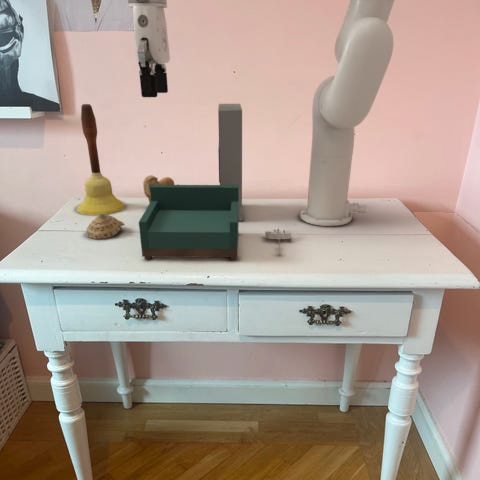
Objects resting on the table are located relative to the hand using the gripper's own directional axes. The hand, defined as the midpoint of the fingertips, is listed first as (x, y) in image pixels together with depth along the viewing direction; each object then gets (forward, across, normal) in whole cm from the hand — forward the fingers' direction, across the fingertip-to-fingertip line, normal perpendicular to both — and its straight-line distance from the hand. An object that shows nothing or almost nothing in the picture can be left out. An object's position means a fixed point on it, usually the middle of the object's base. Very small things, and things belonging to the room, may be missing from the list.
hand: (155, 94), depth 102 cm
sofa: (+28, -15, -9) cm, 33 cm away
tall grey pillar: (+28, +8, -15) cm, 33 cm away
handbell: (+28, +10, +20) cm, 36 cm away
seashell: (+28, -9, +12) cm, 32 cm away
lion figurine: (+28, +13, +4) cm, 31 cm away
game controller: (+28, -13, -27) cm, 41 cm away
